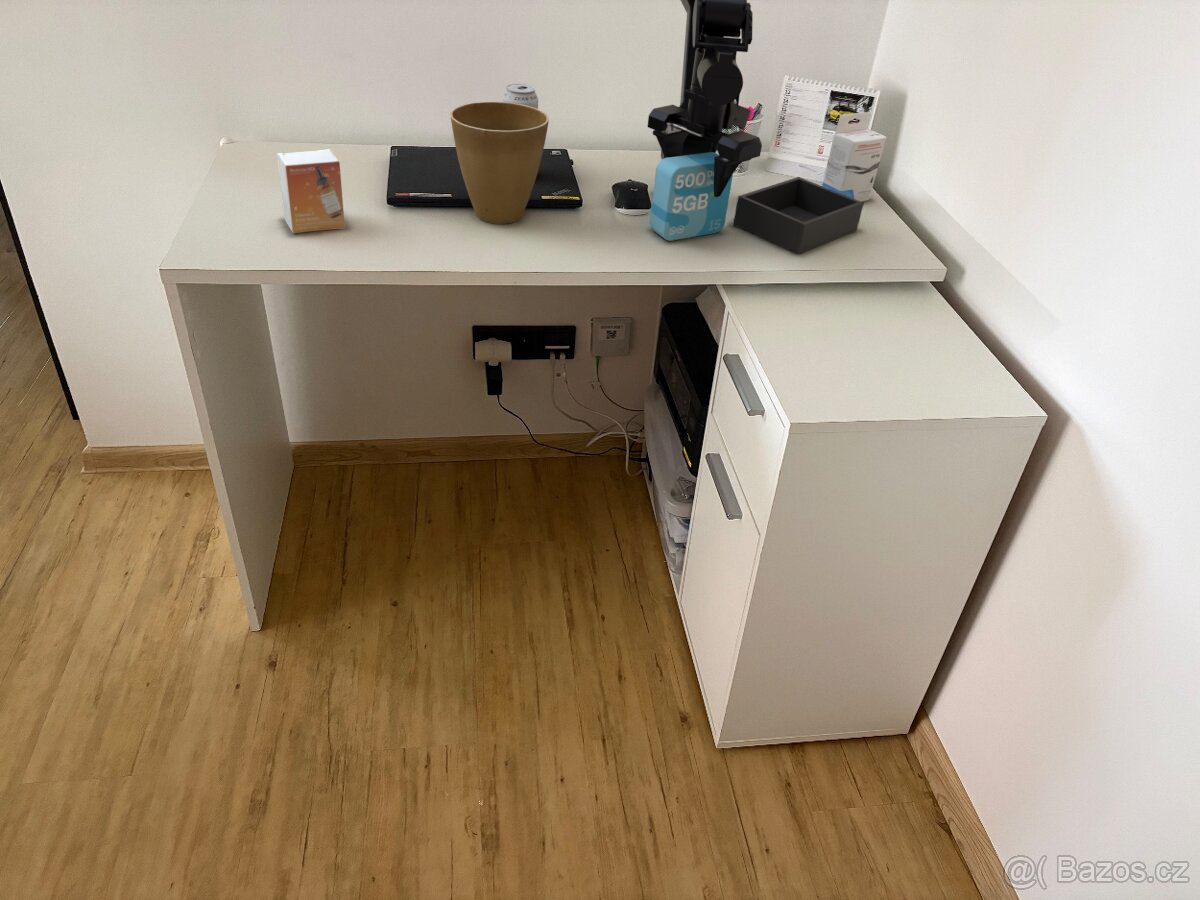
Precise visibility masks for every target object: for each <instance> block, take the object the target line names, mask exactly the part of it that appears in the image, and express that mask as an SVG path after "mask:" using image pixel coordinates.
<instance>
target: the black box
mask: <svg viewBox="0 0 1200 900" xmlns="http://www.w3.org/2000/svg"><path fill="white" fill-rule="evenodd" d="M864 204H865V203H864V201H861V202H860V201H858V200H855V199H853V198H850V197H848V196H845V195H843V194H840V193H838V192H835V191H833V190H830V189H828V188H825V187H823V186H822V185H821V184H818V183H815V182H812V181H810V180H807V179H804V178H802V177H800V176H797V177H793V178H790V179H787V180H784V181H781V182H778V183H774V184H772V185H769V186H766V187H762V188H759V189H756V190H753V191H750V192H747V193H744V194H741V195H738V196H737V202H736V207H735V211H734V218H733V222H732V225H733V226H735V227H738V228H739V229H742V230H744V231H746V232H748V233H750V234H752V235H755V236H757V237H759V238H761V239H763V240H766V241H768V242H770V243H772V244H774V245H777V246H779V247H780V248H781V247H782V248H783V249H786V250H788V251H790V252H792V253H795V254H797V255H800V254H802V253H805V252H808V251H810V250H813V249H815V248H817V247H820V246H822V245H825V244H827V243H830V242H832V241H836V240H837V239H840V238H842V237H845V236H848V235H850V234H852V233H855V232H857V230H858V226H859V222H860V219H861V215H862V212H863V208H864Z"/></svg>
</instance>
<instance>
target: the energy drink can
mask: <svg viewBox="0 0 1200 900" xmlns="http://www.w3.org/2000/svg"><path fill="white" fill-rule="evenodd" d="M502 102H508V103H516V104H522V105H526V106H530V107H533V108H536V109H538V110H539V97H538V95H537V93H536V87H534V86H532V85H530V84H527V83H511V84H508V85H506V90H505V92H504V94H503V95H502Z"/></svg>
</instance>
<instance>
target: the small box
mask: <svg viewBox="0 0 1200 900" xmlns="http://www.w3.org/2000/svg"><path fill="white" fill-rule="evenodd" d="M276 160H277V168H278V178H279V183H280V192H281V201H282V210H283V218H284V221H285V222H286V224H287V226H288V228H289V229H290V231H291V233H292V234H300V233H308V232H317V231H318V232H319V231H327V230H328V231H329V230H341V229H345V228H346V227H345V226H346V225H345V211H344V199H343V188H342V176H341V163H340V161H339V159H338V158H337V157H336V155H335V153H334V152H333V151H332V149H330V148H325V149H319V150H318V149H317V150H307V151H297V152H296V151H294V152H277V153H276Z"/></svg>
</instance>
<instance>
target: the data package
mask: <svg viewBox="0 0 1200 900" xmlns="http://www.w3.org/2000/svg"><path fill="white" fill-rule="evenodd" d="M716 156H719V153H717V152H716V153H714V152H709V153H701V154H693V155H685V156H677V157H669V158H664V159H662V160H661V159H660V160H659V162H658V163H657V164H656V168H655V175H654V181H653V183H654V184H653V192H652V200H651V207H650V216H649V228H650V229H651V230H652V231H653V232H655V233H656V234H658V235H659V236H660V237H662V239H664V240H666V241H669V242H672V241H678V240H684V239H688V238H689V239H690V238H697V237H700V236H707V235H712V234H717V233H719V232H720V231H721V230H722V229H723V228H724V226H725V224H726V218H727V211H728V207H729V200H730V195H731V189H732V182H733V177H734V173H733V174H732V176H731V178H730V180H729V181H728V183H727V185H726V187H725V189H724V190H723V192H722V194H721V196H719V197H714V157H716Z"/></svg>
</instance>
